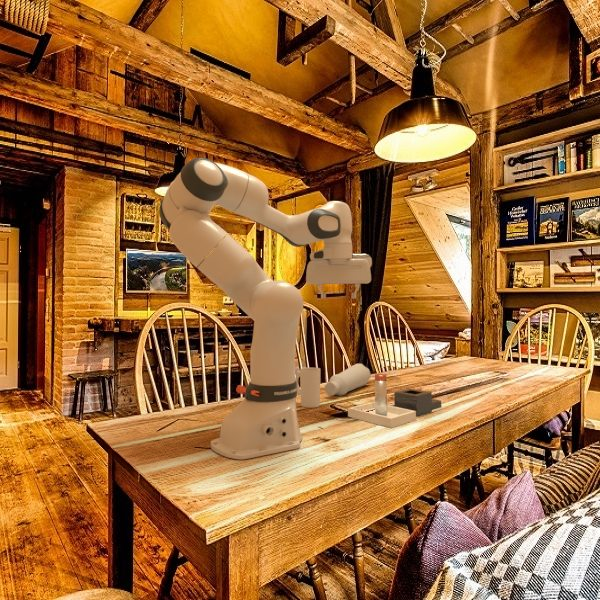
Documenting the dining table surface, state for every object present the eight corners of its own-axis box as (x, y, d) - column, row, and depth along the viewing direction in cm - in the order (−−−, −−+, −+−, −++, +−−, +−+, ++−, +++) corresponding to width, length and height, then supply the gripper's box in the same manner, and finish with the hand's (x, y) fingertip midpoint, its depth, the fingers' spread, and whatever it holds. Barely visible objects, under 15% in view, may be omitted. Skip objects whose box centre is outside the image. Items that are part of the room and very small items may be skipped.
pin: (379, 418, 120) (379, 376, 120) (372, 415, 123) (372, 374, 123) (389, 416, 121) (388, 375, 121) (382, 414, 124) (382, 373, 124)
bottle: (347, 375, 176) (314, 390, 150) (358, 358, 174) (326, 370, 148) (364, 389, 173) (334, 407, 146) (375, 371, 170) (347, 387, 144)
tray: (391, 428, 112) (391, 418, 112) (348, 416, 124) (347, 408, 124) (416, 420, 120) (415, 411, 120) (373, 409, 132) (373, 401, 132)
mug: (324, 405, 138) (324, 368, 138) (311, 409, 133) (311, 371, 133) (302, 400, 145) (302, 366, 145) (288, 404, 140) (288, 368, 140)
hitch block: (416, 416, 123) (416, 396, 123) (394, 411, 129) (394, 392, 129) (445, 407, 134) (445, 388, 134) (423, 403, 140) (423, 385, 140)
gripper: (371, 254, 133) (371, 298, 133) (307, 256, 135) (307, 298, 135) (372, 252, 127) (372, 297, 127) (305, 253, 129) (305, 298, 129)
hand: (338, 298), depth 131 cm, fingers open, 8 cm apart
